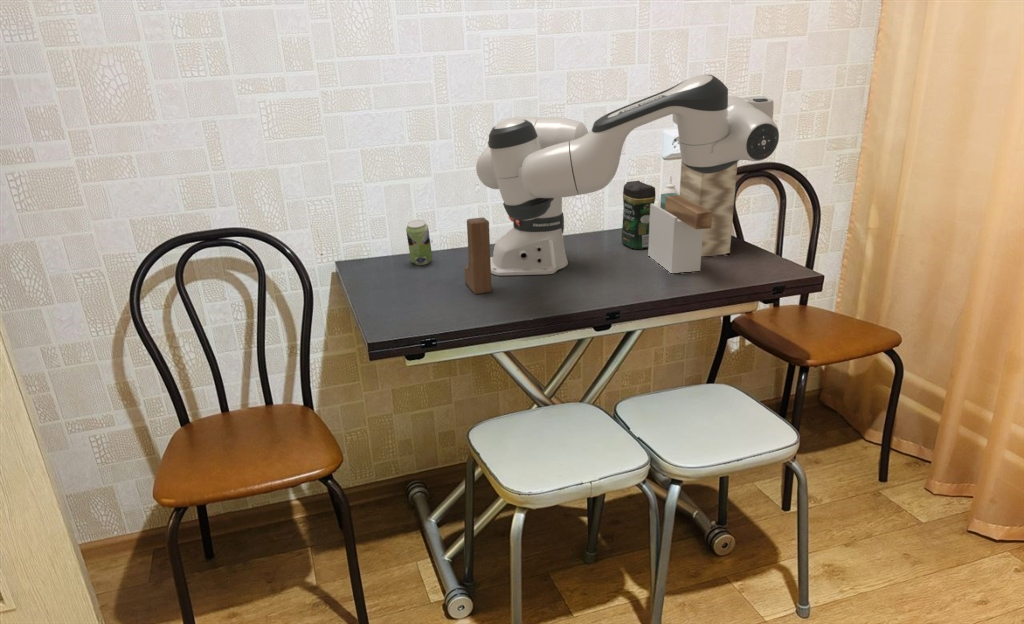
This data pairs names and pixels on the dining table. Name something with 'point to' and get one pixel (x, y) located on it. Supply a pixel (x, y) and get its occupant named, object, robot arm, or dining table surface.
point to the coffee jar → (637, 214)
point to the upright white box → (673, 242)
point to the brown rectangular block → (686, 211)
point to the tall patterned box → (712, 204)
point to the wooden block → (478, 256)
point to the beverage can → (419, 242)
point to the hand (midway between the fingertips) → (709, 102)
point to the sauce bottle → (667, 191)
